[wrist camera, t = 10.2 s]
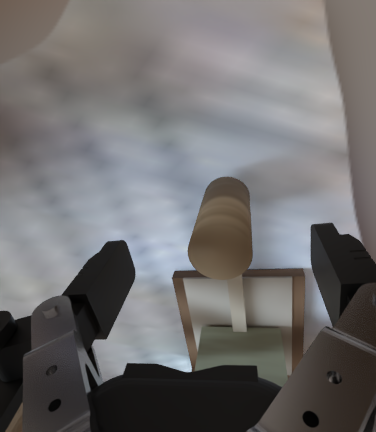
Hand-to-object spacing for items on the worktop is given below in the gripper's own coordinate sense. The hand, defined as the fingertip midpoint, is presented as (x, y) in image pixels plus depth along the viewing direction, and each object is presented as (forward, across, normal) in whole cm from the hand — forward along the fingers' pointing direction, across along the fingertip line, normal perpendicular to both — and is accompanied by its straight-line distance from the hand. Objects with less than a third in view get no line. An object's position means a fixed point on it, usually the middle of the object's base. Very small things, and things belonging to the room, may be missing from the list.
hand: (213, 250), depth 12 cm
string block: (+8, 0, +9) cm, 13 cm away
